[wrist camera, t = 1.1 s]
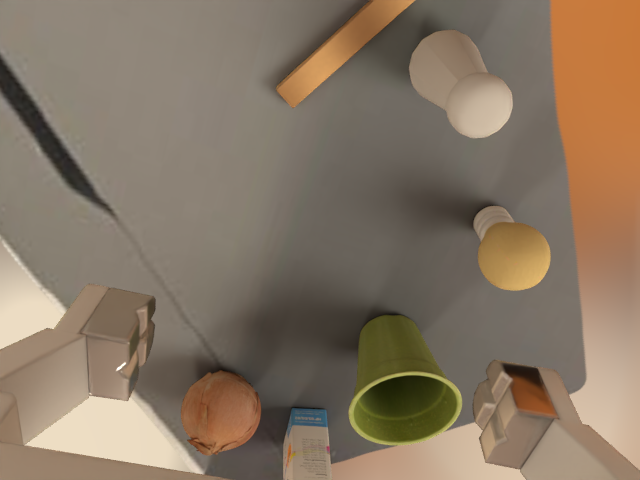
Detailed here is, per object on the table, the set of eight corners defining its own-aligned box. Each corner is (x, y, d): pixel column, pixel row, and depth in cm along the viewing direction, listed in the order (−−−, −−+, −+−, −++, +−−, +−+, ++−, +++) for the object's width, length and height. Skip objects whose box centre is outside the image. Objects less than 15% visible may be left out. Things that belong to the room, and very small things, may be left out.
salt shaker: (434, 9, 43) (485, 49, 32) (483, 48, 45) (547, 98, 34) (390, 69, 45) (424, 125, 35) (439, 104, 47) (485, 166, 37)
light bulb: (464, 191, 53) (498, 248, 45) (525, 191, 53) (570, 246, 45) (454, 243, 56) (484, 304, 48) (511, 242, 57) (551, 302, 48)
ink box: (290, 406, 70) (292, 516, 57) (326, 408, 70) (336, 517, 58) (281, 444, 74) (282, 554, 62) (316, 446, 75) (323, 555, 63)
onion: (216, 382, 71) (189, 459, 65) (185, 352, 63) (152, 434, 58) (280, 392, 67) (257, 473, 62) (255, 361, 60) (227, 449, 55)
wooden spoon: (306, 119, 47) (307, 124, 46) (260, 70, 45) (260, 74, 44) (518, -64, 40) (524, -63, 39) (478, -136, 38) (484, -137, 37)
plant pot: (365, 286, 59) (381, 360, 50) (453, 313, 62) (484, 388, 53) (322, 355, 65) (330, 434, 55) (405, 377, 68) (425, 455, 59)
